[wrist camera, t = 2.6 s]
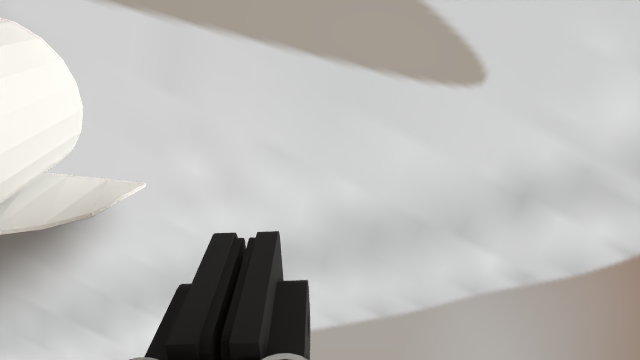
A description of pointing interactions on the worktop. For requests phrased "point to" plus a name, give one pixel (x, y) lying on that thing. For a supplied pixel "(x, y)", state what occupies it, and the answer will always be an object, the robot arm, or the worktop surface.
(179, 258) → the worktop surface
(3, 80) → the toilet paper
